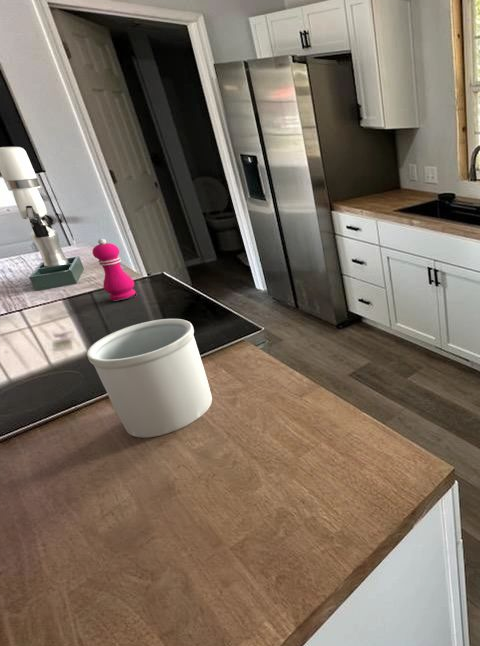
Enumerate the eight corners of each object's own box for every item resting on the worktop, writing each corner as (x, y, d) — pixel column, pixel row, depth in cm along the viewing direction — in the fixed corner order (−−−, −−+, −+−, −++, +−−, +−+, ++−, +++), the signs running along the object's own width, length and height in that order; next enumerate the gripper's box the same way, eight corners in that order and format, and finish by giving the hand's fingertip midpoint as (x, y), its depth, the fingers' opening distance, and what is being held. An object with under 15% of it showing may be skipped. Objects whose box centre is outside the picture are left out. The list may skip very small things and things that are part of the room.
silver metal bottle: (43, 276, 150) (18, 222, 143) (65, 269, 156) (43, 218, 149) (55, 277, 148) (31, 223, 141) (78, 271, 155) (56, 219, 147)
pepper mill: (108, 298, 134) (84, 239, 126) (137, 291, 138) (116, 234, 131) (109, 304, 129) (84, 244, 122) (139, 297, 134) (117, 238, 126)
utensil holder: (226, 411, 82) (201, 335, 76) (129, 454, 72) (90, 370, 66) (205, 381, 92) (182, 311, 85) (117, 416, 81) (82, 339, 75)
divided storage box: (35, 291, 140) (28, 277, 138) (46, 274, 154) (41, 262, 152) (76, 283, 145) (71, 270, 144) (84, 268, 160) (79, 256, 158)
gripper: (13, 182, 145) (35, 231, 151) (-1, 189, 132) (24, 242, 139) (44, 180, 149) (64, 228, 156) (33, 186, 137) (55, 238, 143)
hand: (45, 234), depth 147 cm, fingers closed on silver metal bottle, 6 cm apart
